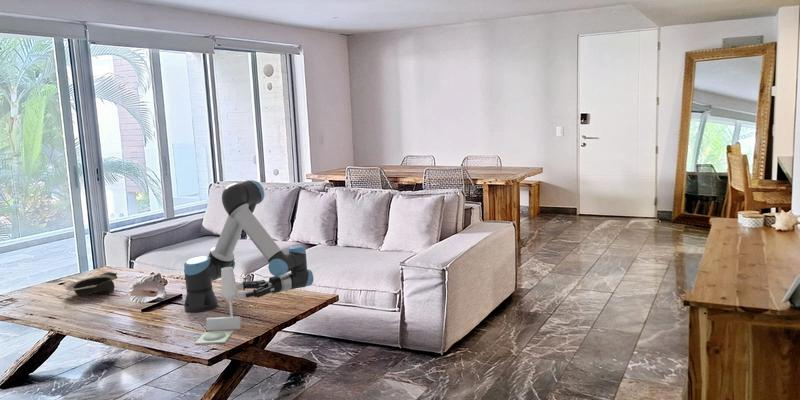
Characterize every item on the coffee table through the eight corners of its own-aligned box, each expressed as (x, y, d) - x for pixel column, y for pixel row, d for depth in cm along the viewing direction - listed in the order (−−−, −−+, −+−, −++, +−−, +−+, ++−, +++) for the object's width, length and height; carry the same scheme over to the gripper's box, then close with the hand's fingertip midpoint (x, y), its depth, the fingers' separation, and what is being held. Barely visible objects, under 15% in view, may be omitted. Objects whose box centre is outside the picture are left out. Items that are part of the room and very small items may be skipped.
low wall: (207, 330, 256) (205, 319, 255) (208, 329, 258) (207, 318, 257) (240, 328, 256) (239, 317, 255) (241, 327, 258) (240, 316, 257)
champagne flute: (227, 319, 269) (221, 266, 266) (242, 318, 269) (237, 266, 265) (222, 324, 263) (216, 270, 259) (237, 324, 262) (232, 270, 259)
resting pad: (195, 344, 241) (194, 342, 241) (204, 333, 253) (204, 331, 253) (225, 342, 241) (225, 341, 241) (233, 331, 253) (233, 330, 253)
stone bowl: (129, 289, 326) (126, 272, 324) (85, 306, 306) (81, 289, 304) (102, 283, 339) (99, 267, 337) (58, 299, 319) (55, 283, 317)
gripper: (290, 298, 265) (242, 308, 254) (270, 285, 286) (225, 294, 275) (289, 281, 264) (240, 291, 253) (269, 270, 285) (224, 278, 274)
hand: (232, 292), depth 264 cm, fingers open, 13 cm apart
